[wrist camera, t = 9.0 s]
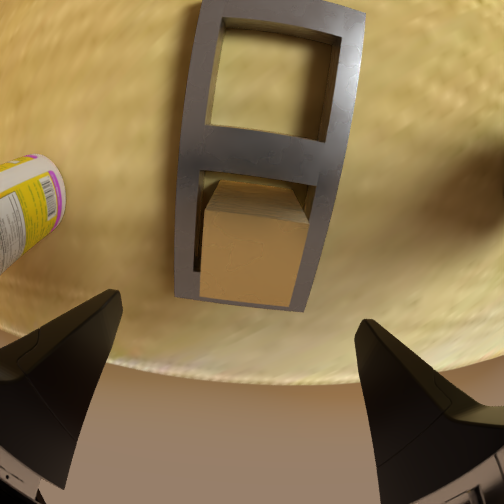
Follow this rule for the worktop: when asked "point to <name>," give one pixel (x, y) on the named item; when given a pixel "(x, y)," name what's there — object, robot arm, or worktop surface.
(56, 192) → the supplement bottle
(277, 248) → the wooden block
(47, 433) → the robot arm
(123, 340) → the worktop surface
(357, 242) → the worktop surface
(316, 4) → the grey double window frame
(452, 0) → the worktop surface
